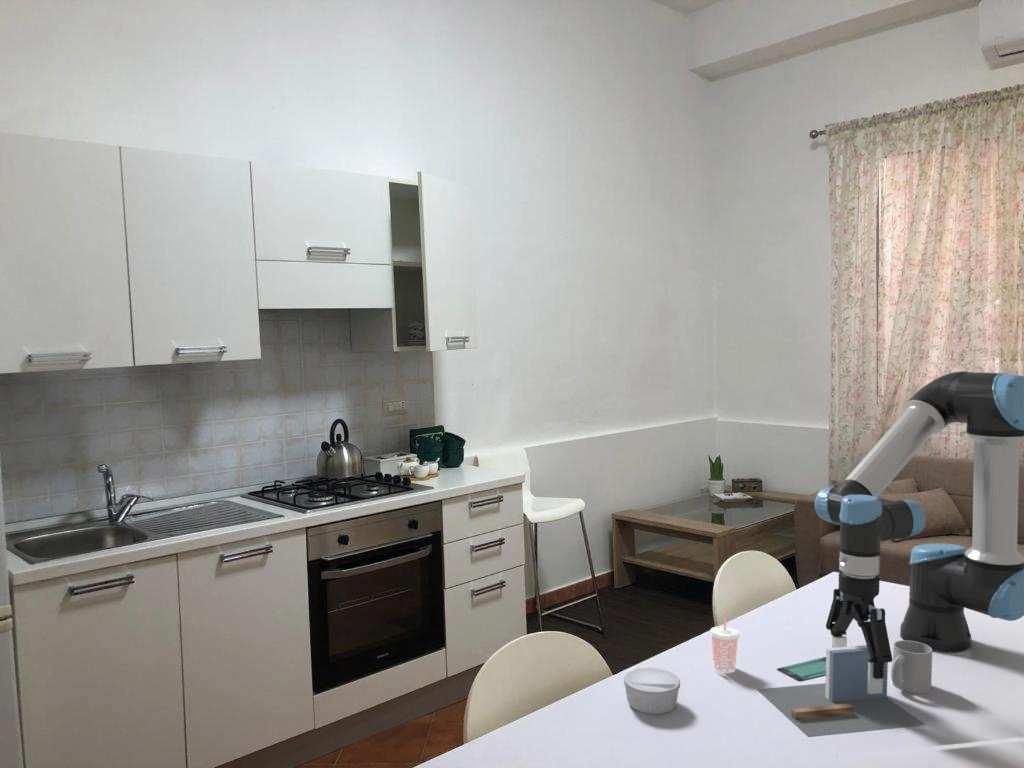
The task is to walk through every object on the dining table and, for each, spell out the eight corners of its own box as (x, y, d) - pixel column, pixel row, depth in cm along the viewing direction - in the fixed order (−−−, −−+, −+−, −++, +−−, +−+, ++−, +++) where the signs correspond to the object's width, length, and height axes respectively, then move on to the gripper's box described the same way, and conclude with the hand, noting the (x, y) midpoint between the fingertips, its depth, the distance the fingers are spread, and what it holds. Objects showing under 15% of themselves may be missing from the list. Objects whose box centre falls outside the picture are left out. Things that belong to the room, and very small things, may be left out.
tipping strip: (848, 711, 159) (848, 703, 159) (853, 714, 158) (853, 707, 158) (791, 716, 157) (791, 708, 157) (795, 720, 156) (795, 712, 156)
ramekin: (645, 722, 156) (646, 695, 156) (612, 699, 166) (612, 673, 166) (691, 709, 162) (692, 683, 161) (656, 688, 172) (657, 663, 171)
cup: (938, 691, 169) (939, 649, 168) (909, 703, 164) (910, 659, 163) (905, 678, 175) (907, 637, 175) (876, 689, 170) (877, 647, 169)
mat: (862, 682, 173) (862, 679, 173) (926, 727, 154) (926, 724, 154) (756, 692, 169) (756, 689, 169) (808, 739, 149) (808, 736, 149)
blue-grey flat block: (879, 691, 168) (880, 644, 167) (886, 697, 165) (888, 648, 164) (825, 696, 165) (826, 648, 165) (832, 702, 163) (833, 653, 162)
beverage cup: (706, 673, 178) (707, 610, 177) (713, 663, 184) (714, 602, 183) (735, 679, 175) (736, 615, 174) (741, 668, 181) (742, 606, 180)
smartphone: (775, 668, 179) (826, 655, 185) (775, 673, 179) (826, 661, 185) (800, 681, 172) (852, 667, 179) (800, 686, 172) (852, 673, 179)
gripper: (809, 558, 175) (807, 658, 176) (878, 593, 151) (875, 708, 153) (842, 556, 176) (839, 655, 177) (915, 590, 153) (911, 704, 154)
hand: (856, 679), depth 165 cm, fingers open, 11 cm apart
